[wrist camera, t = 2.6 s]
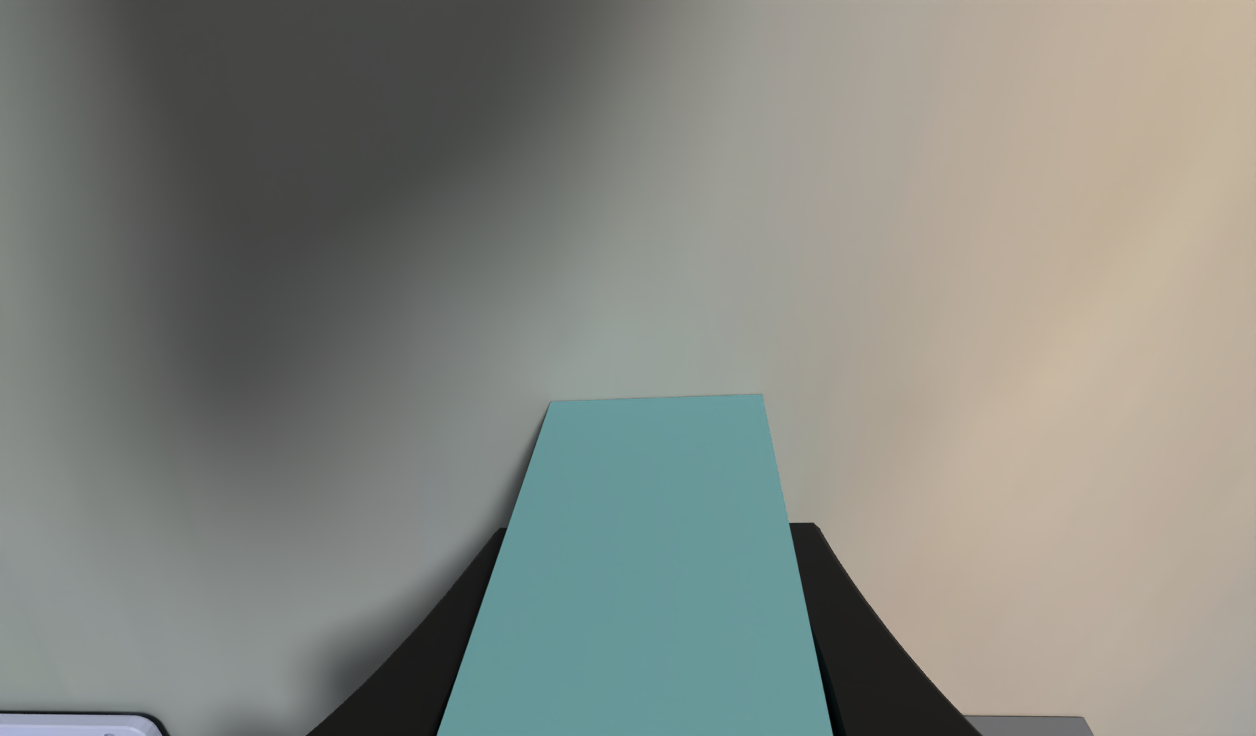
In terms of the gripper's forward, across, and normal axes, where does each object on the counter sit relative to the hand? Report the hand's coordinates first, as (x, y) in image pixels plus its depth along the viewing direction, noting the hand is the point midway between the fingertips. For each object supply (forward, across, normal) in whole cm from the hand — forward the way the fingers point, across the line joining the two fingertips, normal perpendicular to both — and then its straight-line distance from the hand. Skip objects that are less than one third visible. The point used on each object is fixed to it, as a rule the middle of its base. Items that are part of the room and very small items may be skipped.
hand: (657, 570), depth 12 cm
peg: (+2, 0, 0) cm, 2 cm away
